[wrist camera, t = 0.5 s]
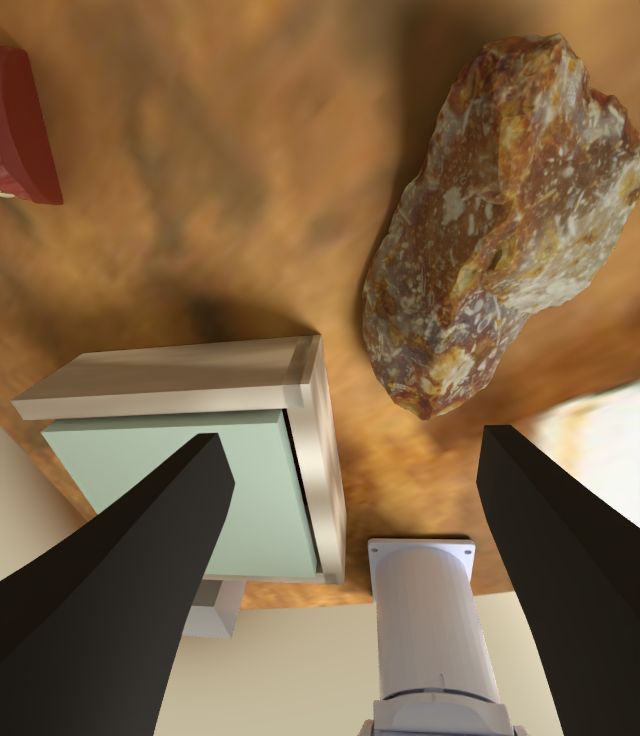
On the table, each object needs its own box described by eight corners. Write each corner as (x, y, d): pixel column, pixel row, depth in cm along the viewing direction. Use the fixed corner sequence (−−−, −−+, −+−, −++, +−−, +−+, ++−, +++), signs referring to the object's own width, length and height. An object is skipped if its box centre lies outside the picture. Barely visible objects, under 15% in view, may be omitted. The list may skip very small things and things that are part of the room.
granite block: (248, 575, 32) (231, 638, 27) (199, 573, 32) (174, 634, 28) (235, 543, 29) (213, 606, 25) (182, 542, 30) (152, 603, 26)
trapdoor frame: (346, 515, 26) (344, 584, 21) (169, 514, 28) (134, 576, 24) (321, 334, 18) (309, 383, 14) (83, 353, 21) (9, 400, 16)
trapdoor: (281, 409, 15) (277, 422, 15) (317, 561, 21) (315, 577, 20) (56, 419, 17) (40, 432, 16) (145, 556, 23) (137, 571, 22)
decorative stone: (828, 49, 8) (529, 451, 17) (687, 69, 11) (501, 395, 21) (427, 4, 8) (342, 425, 17) (408, 37, 12) (346, 373, 21)
